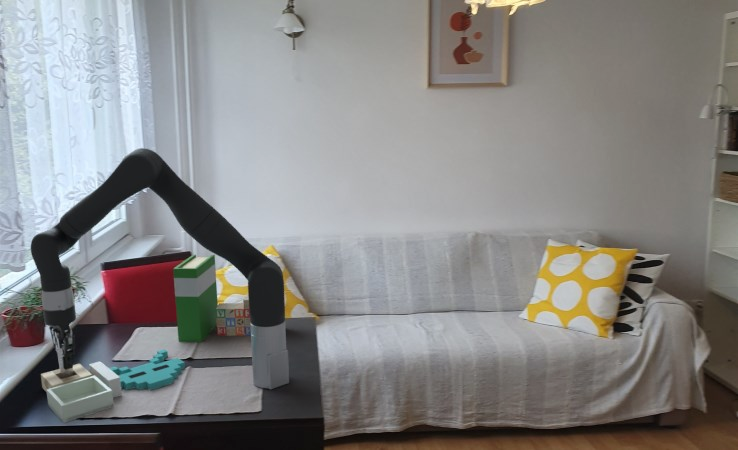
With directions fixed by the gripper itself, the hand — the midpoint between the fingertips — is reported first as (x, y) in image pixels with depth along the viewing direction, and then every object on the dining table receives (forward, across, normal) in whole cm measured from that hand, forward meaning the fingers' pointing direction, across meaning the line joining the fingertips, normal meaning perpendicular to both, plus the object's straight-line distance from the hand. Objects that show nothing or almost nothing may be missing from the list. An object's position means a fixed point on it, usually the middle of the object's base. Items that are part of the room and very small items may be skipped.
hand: (66, 366), depth 173 cm
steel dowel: (+5, 0, 0) cm, 5 cm away
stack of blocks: (+7, -2, +58) cm, 59 cm away
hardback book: (+7, -14, +46) cm, 48 cm away
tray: (+6, +13, -1) cm, 14 cm away
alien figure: (+7, +6, +19) cm, 21 cm away
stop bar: (+6, +7, +7) cm, 12 cm away
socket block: (+6, 0, 0) cm, 6 cm away
